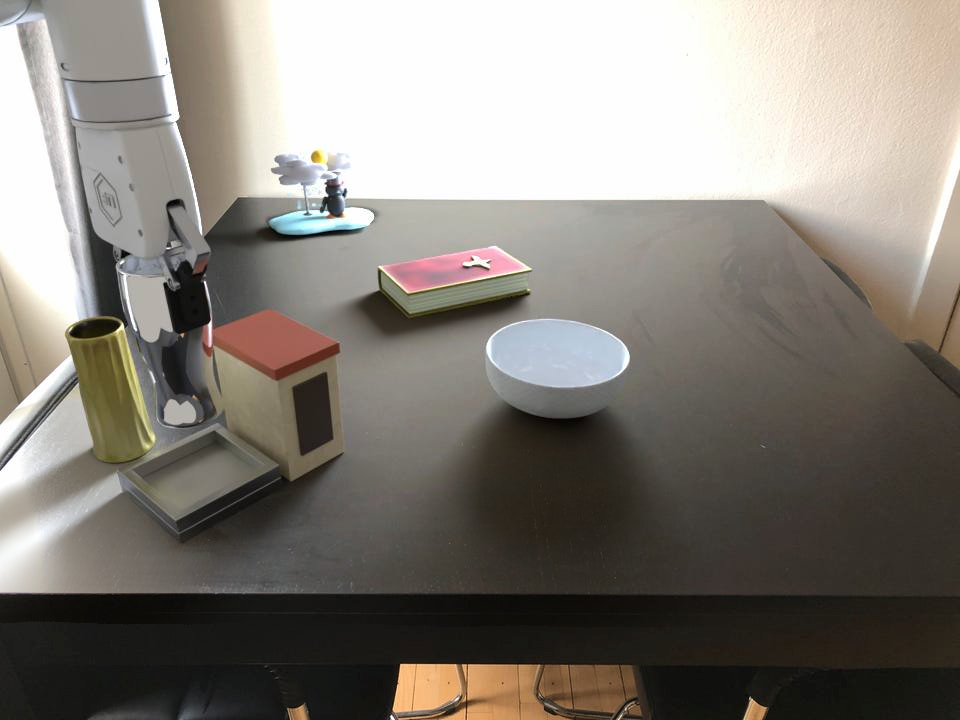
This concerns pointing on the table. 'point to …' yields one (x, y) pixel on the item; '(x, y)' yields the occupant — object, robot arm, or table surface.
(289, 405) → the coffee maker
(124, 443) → the vase
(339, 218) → the penguin figurine
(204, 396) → the beer glass
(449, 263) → the hardcover book
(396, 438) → the table surface
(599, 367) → the cereal bowl
